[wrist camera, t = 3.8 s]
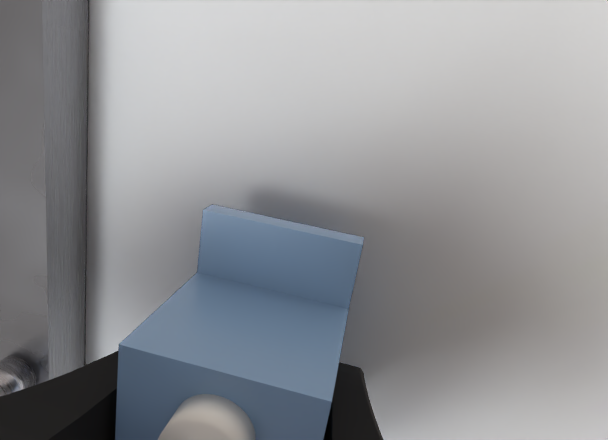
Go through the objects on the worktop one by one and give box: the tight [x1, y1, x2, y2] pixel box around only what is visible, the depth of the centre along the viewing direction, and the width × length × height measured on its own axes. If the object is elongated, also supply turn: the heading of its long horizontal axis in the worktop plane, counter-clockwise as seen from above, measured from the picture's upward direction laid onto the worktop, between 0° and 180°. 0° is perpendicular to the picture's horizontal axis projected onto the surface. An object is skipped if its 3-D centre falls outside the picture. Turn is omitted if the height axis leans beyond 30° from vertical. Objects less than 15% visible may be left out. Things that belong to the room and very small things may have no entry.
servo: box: [115, 204, 364, 440], centre depth 10 cm, size 8×4×6 cm, turn 171°
